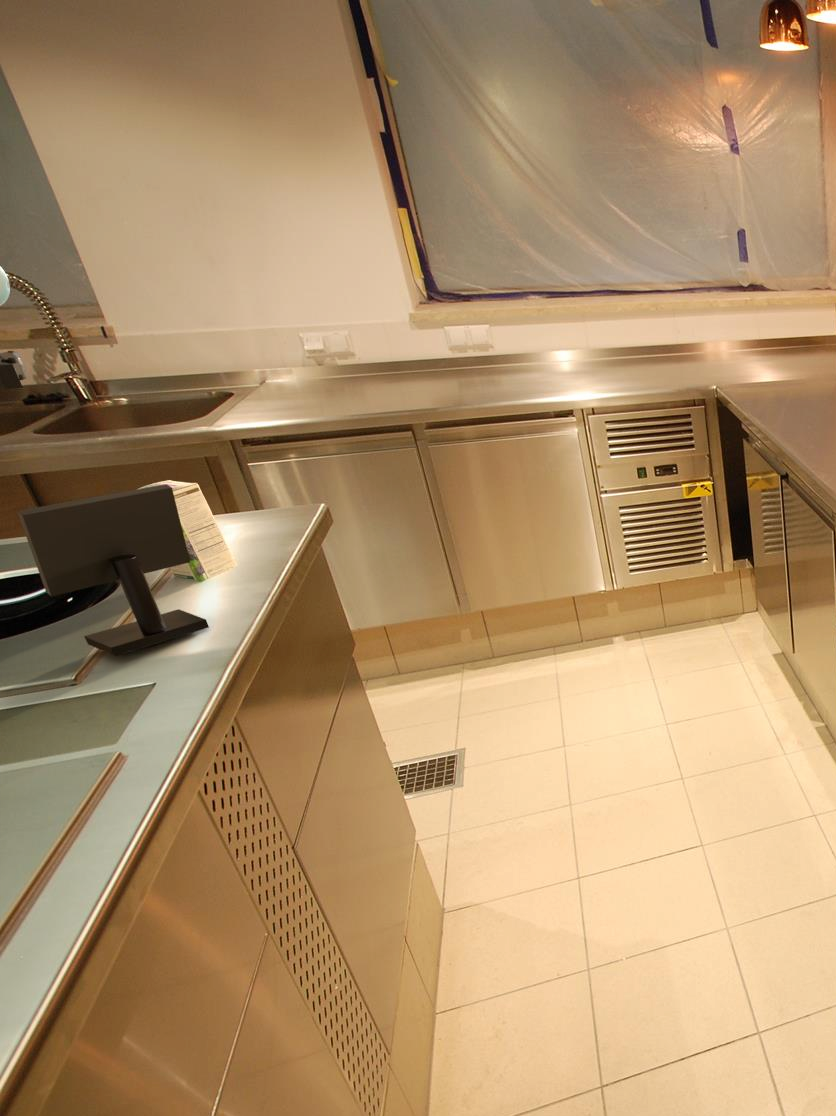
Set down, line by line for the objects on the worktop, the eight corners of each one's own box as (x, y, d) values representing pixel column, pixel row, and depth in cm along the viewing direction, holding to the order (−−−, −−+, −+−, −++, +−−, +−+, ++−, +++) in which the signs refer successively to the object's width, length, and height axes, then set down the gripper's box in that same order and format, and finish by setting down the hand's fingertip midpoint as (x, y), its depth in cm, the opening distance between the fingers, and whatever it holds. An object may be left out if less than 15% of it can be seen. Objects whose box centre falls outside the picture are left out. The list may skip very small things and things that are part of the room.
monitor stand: (114, 656, 104) (76, 571, 99) (87, 644, 107) (49, 561, 102) (209, 627, 112) (178, 548, 107) (182, 617, 115) (150, 539, 110)
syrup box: (175, 583, 126) (125, 492, 118) (213, 566, 131) (168, 477, 123) (205, 587, 125) (156, 495, 117) (242, 570, 130) (198, 481, 122)
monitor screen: (51, 596, 100) (22, 515, 95) (45, 592, 101) (16, 510, 95) (190, 562, 112) (172, 487, 106) (184, 558, 112) (166, 483, 106)
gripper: (11, 385, 115) (93, 401, 106) (-131, 397, 105) (-54, 417, 95) (-15, 327, 112) (67, 338, 103) (-164, 334, 102) (-88, 348, 92)
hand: (9, 376), depth 99 cm, fingers closed
